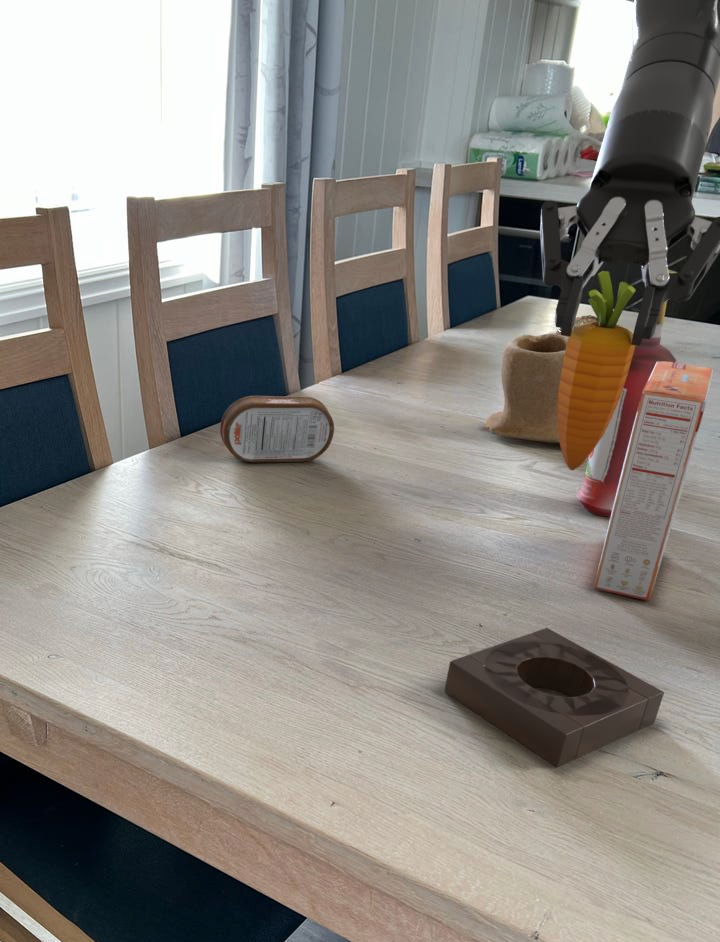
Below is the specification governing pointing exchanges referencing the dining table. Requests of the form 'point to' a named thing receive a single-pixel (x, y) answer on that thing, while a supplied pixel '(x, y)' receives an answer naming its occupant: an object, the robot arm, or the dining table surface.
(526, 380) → the stone cup
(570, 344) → the carrot
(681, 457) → the cracker box
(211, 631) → the dining table surface
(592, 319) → the brown shell
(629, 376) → the liquor
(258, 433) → the tin
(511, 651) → the socket pad
